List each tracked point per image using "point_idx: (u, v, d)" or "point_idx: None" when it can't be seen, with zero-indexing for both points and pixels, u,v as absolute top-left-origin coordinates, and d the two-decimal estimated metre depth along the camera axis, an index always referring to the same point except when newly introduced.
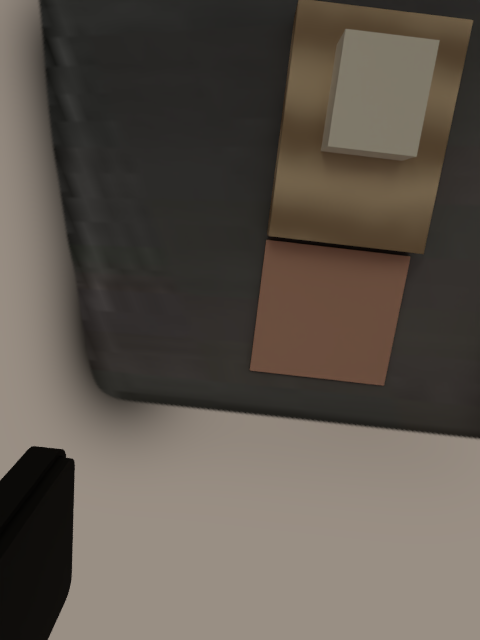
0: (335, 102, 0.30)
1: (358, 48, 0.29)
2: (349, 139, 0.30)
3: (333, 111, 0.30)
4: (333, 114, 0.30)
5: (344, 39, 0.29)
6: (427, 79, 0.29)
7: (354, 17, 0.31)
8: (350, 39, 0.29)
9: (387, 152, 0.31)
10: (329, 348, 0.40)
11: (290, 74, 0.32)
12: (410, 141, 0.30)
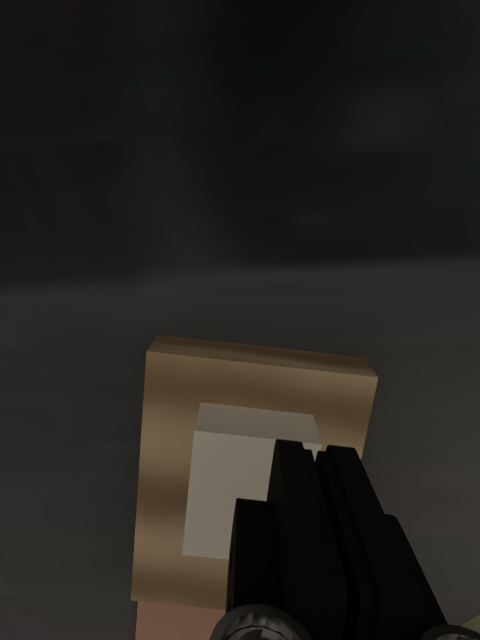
0: (188, 508, 0.22)
1: (214, 452, 0.21)
2: (209, 548, 0.23)
3: (186, 517, 0.22)
4: (186, 521, 0.22)
5: (194, 441, 0.21)
6: None
7: (221, 372, 0.24)
8: (202, 442, 0.21)
9: None
10: None
11: (142, 433, 0.25)
12: None
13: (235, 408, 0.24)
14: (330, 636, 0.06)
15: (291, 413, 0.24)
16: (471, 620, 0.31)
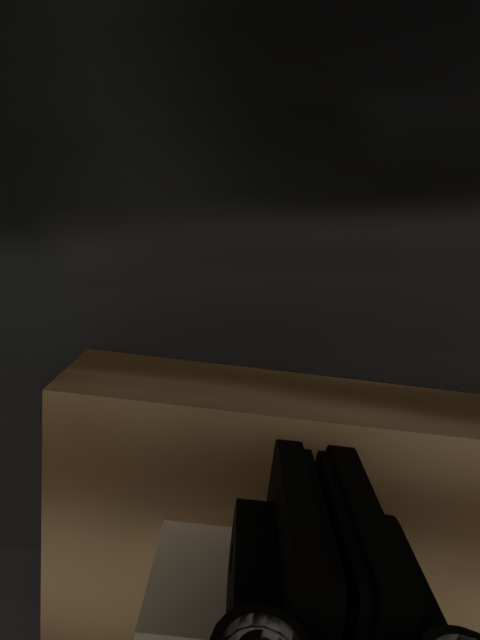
0: None
1: None
2: None
3: None
4: None
5: None
6: None
7: (212, 437, 0.11)
8: None
9: None
10: None
11: (44, 563, 0.11)
12: None
13: None
14: (330, 636, 0.06)
15: None
16: None
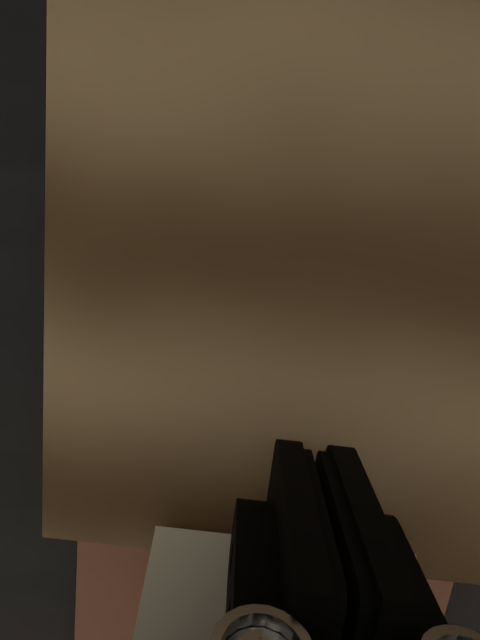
0: None
1: None
2: None
3: None
4: None
5: None
6: None
7: None
8: None
9: None
10: None
11: (50, 23, 0.08)
12: None
13: None
14: (330, 636, 0.06)
15: None
16: None
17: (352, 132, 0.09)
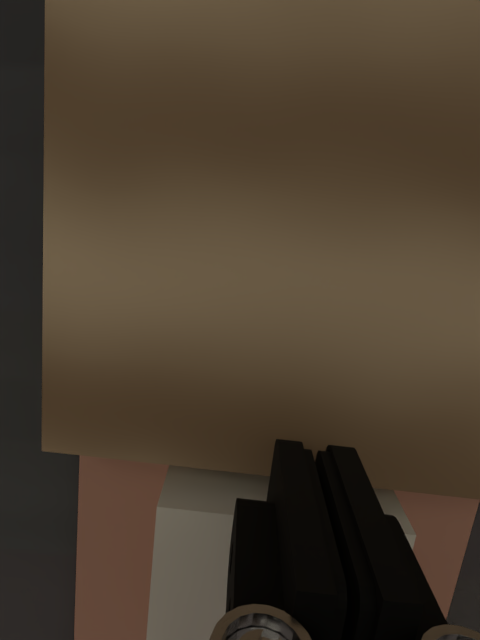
0: None
1: (197, 549, 0.11)
2: None
3: None
4: None
5: (157, 526, 0.11)
6: None
7: None
8: (173, 530, 0.11)
9: None
10: None
11: None
12: None
13: None
14: (330, 636, 0.06)
15: None
16: None
17: None
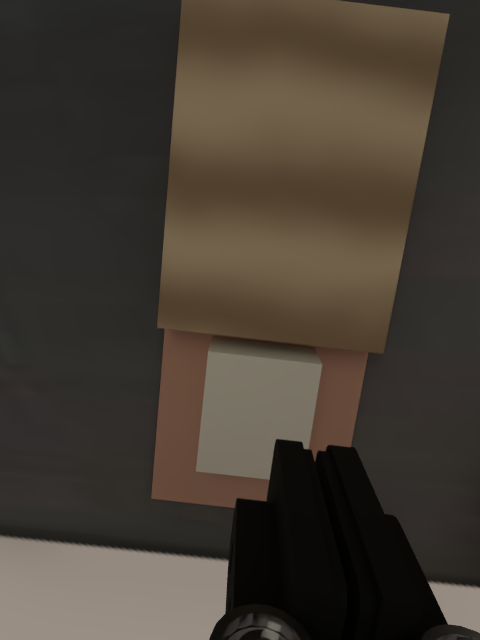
0: (201, 426, 0.25)
1: (225, 372, 0.24)
2: (221, 465, 0.25)
3: (200, 435, 0.25)
4: (200, 439, 0.25)
5: (207, 361, 0.24)
6: (310, 404, 0.24)
7: (268, 10, 0.20)
8: (214, 362, 0.24)
9: (268, 477, 0.25)
10: None
11: (176, 95, 0.21)
12: None
13: (244, 341, 0.26)
14: (330, 636, 0.06)
15: (294, 346, 0.27)
16: None
17: (297, 138, 0.22)
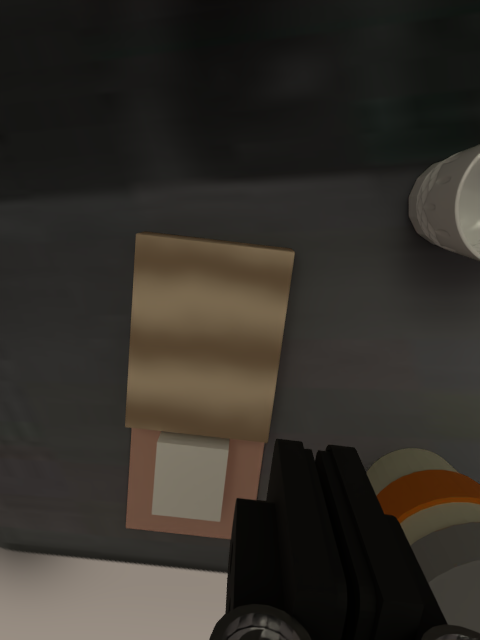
0: (154, 487, 0.39)
1: (168, 454, 0.38)
2: (167, 510, 0.40)
3: (153, 492, 0.39)
4: (153, 494, 0.39)
5: (157, 448, 0.38)
6: (222, 474, 0.39)
7: (187, 249, 0.34)
8: (161, 448, 0.38)
9: (197, 518, 0.40)
10: None
11: (133, 295, 0.35)
12: (214, 512, 0.39)
13: None
14: (330, 636, 0.06)
15: None
16: (380, 458, 0.42)
17: (207, 318, 0.36)
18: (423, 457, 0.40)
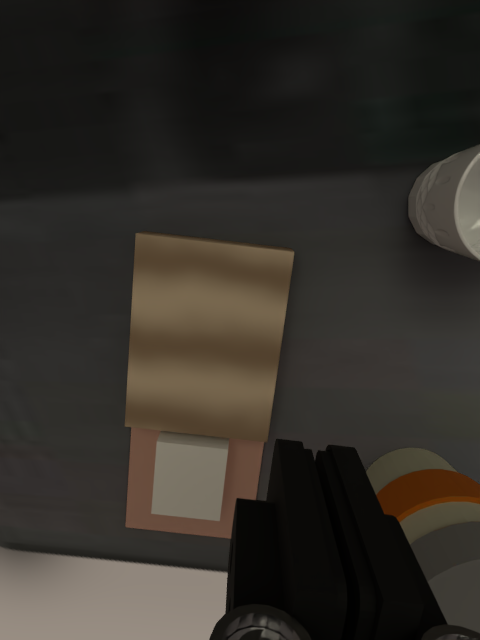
0: (154, 486, 0.39)
1: (168, 454, 0.38)
2: (167, 510, 0.40)
3: (153, 491, 0.39)
4: (153, 494, 0.39)
5: (156, 447, 0.38)
6: (221, 473, 0.39)
7: (187, 249, 0.34)
8: (161, 448, 0.38)
9: (197, 517, 0.40)
10: None
11: (133, 294, 0.35)
12: (213, 511, 0.40)
13: None
14: (330, 636, 0.06)
15: None
16: (380, 458, 0.42)
17: (207, 318, 0.36)
18: (422, 456, 0.40)
